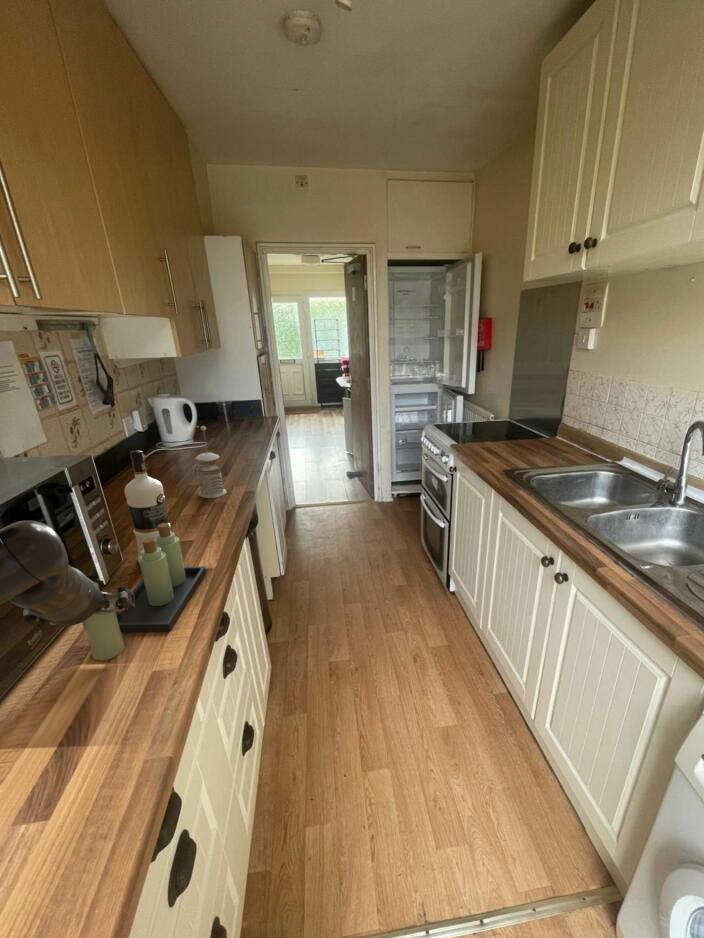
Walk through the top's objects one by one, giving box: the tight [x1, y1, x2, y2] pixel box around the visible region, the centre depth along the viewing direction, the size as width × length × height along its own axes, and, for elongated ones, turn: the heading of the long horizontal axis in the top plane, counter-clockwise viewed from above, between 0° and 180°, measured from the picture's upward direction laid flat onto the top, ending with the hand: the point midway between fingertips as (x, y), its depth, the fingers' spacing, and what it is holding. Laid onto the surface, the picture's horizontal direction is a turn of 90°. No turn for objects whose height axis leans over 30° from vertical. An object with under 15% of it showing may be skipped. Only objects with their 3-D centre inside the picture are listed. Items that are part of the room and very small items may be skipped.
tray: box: [116, 565, 207, 634], centre depth 96 cm, size 13×23×2 cm, turn 3°
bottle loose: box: [81, 581, 126, 661], centre depth 78 cm, size 5×5×15 cm
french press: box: [192, 425, 227, 499], centre depth 153 cm, size 10×12×25 cm
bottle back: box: [155, 522, 186, 587], centre depth 100 cm, size 5×5×15 cm
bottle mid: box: [138, 538, 174, 606], centre depth 93 cm, size 5×5×15 cm
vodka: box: [124, 449, 172, 565], centre depth 106 cm, size 9×9×30 cm
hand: (95, 614), depth 76 cm, fingers open, 8 cm apart
